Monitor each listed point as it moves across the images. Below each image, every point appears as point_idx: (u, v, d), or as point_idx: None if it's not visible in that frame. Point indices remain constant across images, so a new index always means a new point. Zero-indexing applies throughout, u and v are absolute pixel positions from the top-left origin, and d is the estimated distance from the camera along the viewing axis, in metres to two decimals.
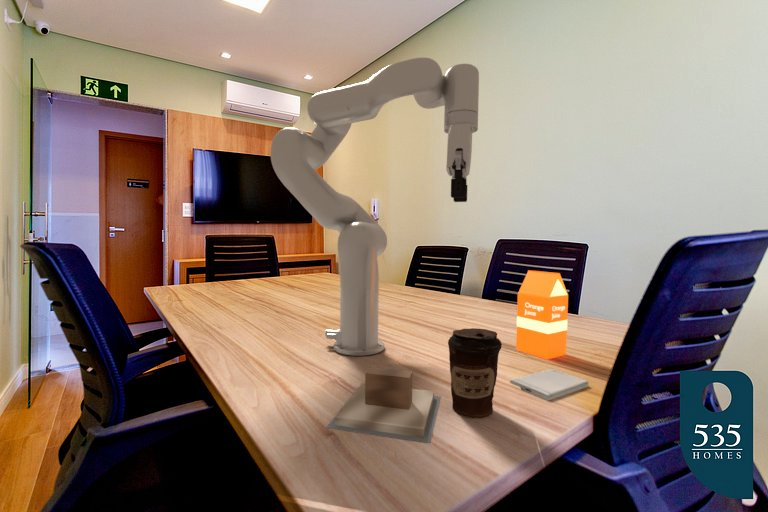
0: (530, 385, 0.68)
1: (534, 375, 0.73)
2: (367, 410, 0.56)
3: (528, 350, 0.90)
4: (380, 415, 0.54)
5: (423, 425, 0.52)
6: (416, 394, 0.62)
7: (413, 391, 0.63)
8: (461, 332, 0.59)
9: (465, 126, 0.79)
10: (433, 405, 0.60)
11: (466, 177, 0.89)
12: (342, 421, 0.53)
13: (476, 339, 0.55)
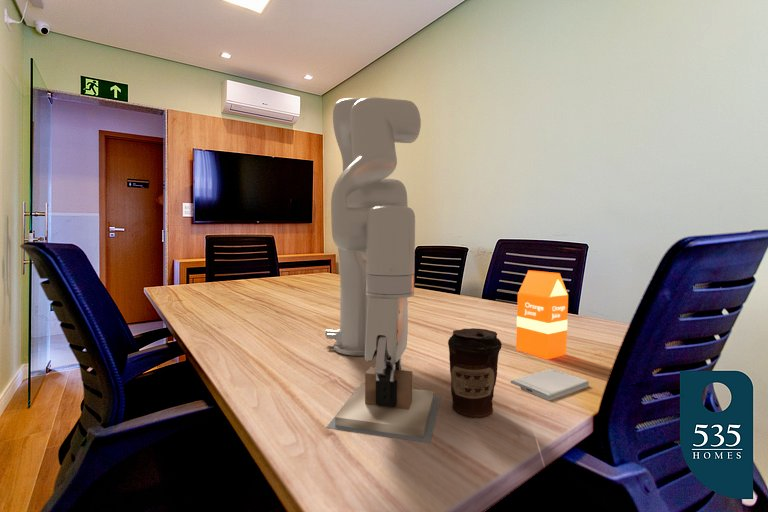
0: (531, 386, 0.68)
1: (535, 375, 0.73)
2: (367, 410, 0.56)
3: (528, 350, 0.90)
4: (380, 415, 0.54)
5: (423, 425, 0.52)
6: (416, 394, 0.62)
7: (413, 391, 0.63)
8: (461, 332, 0.59)
9: (391, 302, 0.53)
10: (433, 405, 0.60)
11: (400, 359, 0.60)
12: (342, 421, 0.53)
13: (476, 339, 0.55)
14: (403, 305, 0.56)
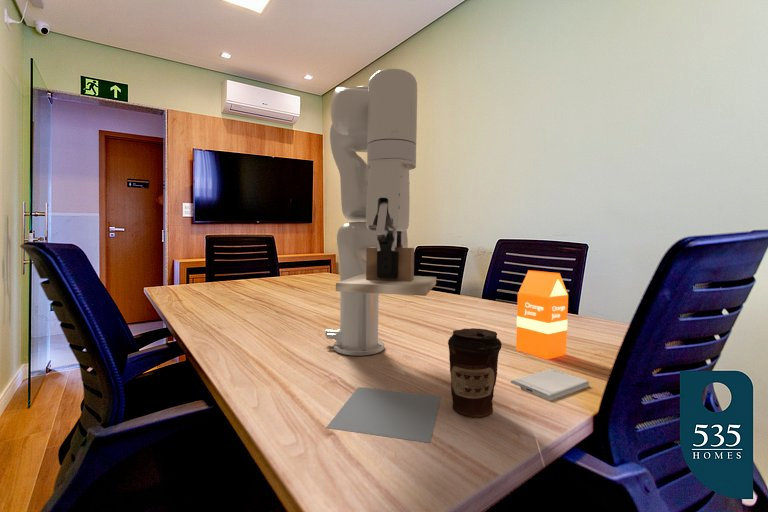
0: (531, 385, 0.68)
1: (535, 375, 0.73)
2: (368, 281, 0.55)
3: (528, 350, 0.90)
4: (382, 282, 0.54)
5: (425, 286, 0.51)
6: (417, 277, 0.61)
7: (415, 276, 0.62)
8: (461, 332, 0.59)
9: (392, 164, 0.52)
10: (433, 405, 0.60)
11: (402, 238, 0.59)
12: (343, 286, 0.53)
13: (476, 339, 0.55)
14: (405, 174, 0.55)
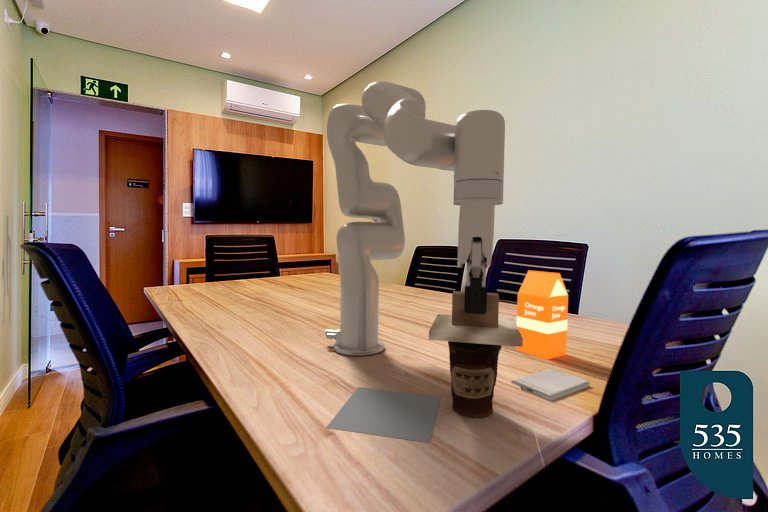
0: (532, 385, 0.68)
1: (535, 375, 0.73)
2: (457, 328, 0.56)
3: (528, 350, 0.90)
4: (472, 330, 0.55)
5: (520, 336, 0.52)
6: None
7: None
8: None
9: (486, 204, 0.53)
10: (433, 405, 0.60)
11: None
12: (437, 335, 0.54)
13: None
14: (494, 211, 0.56)
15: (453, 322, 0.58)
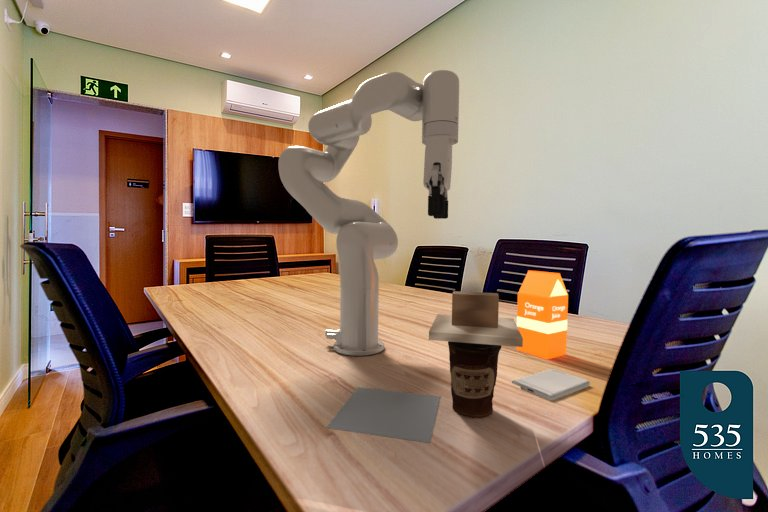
0: (532, 386, 0.67)
1: (535, 375, 0.73)
2: (457, 328, 0.56)
3: (528, 350, 0.90)
4: (472, 330, 0.55)
5: (520, 336, 0.52)
6: None
7: None
8: None
9: (443, 138, 0.73)
10: (433, 405, 0.60)
11: None
12: (437, 335, 0.54)
13: None
14: (451, 146, 0.75)
15: (453, 322, 0.58)
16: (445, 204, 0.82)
